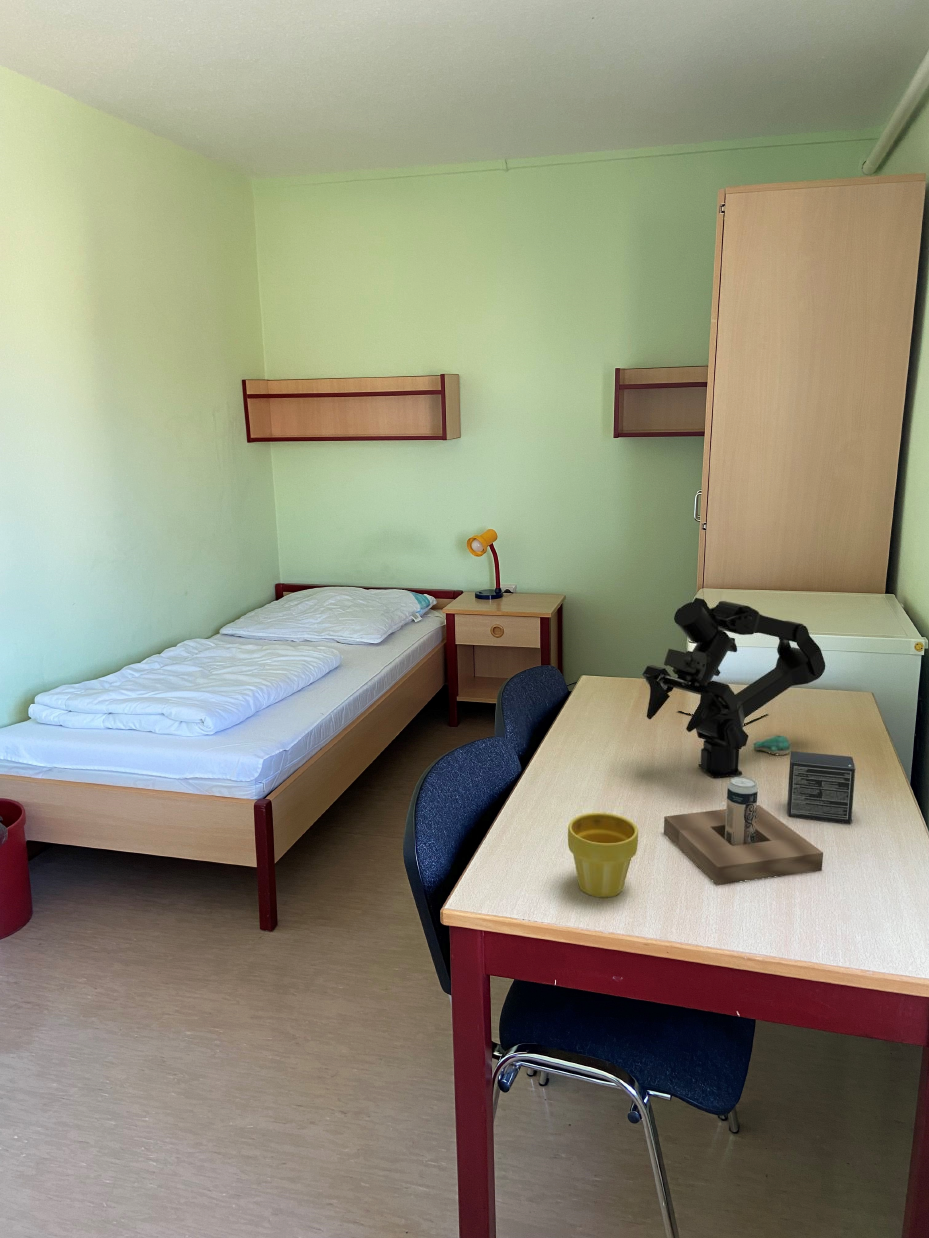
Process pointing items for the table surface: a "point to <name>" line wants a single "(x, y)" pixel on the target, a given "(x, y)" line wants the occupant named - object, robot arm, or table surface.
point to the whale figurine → (774, 745)
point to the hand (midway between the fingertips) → (667, 724)
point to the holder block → (742, 847)
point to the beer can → (741, 811)
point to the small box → (821, 787)
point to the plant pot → (602, 851)
